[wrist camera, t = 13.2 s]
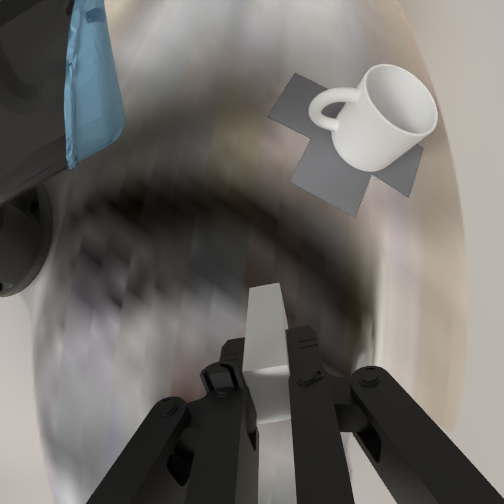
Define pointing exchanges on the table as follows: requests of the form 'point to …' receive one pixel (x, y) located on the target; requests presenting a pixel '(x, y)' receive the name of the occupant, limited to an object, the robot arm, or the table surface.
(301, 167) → the t mat
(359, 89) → the mug
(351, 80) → the table surface
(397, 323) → the table surface
